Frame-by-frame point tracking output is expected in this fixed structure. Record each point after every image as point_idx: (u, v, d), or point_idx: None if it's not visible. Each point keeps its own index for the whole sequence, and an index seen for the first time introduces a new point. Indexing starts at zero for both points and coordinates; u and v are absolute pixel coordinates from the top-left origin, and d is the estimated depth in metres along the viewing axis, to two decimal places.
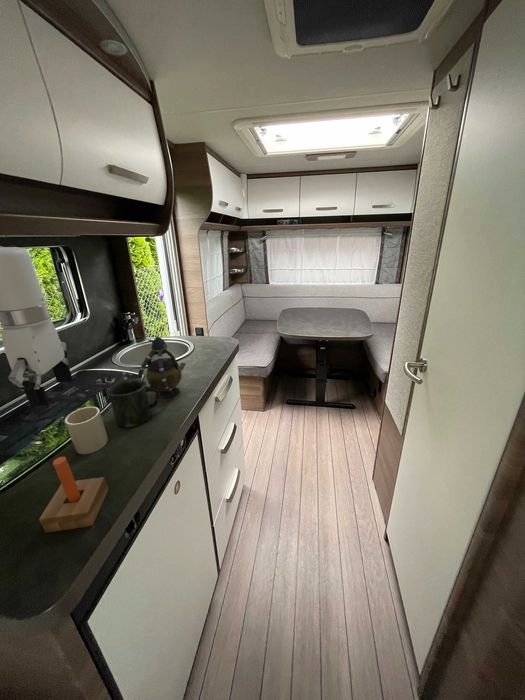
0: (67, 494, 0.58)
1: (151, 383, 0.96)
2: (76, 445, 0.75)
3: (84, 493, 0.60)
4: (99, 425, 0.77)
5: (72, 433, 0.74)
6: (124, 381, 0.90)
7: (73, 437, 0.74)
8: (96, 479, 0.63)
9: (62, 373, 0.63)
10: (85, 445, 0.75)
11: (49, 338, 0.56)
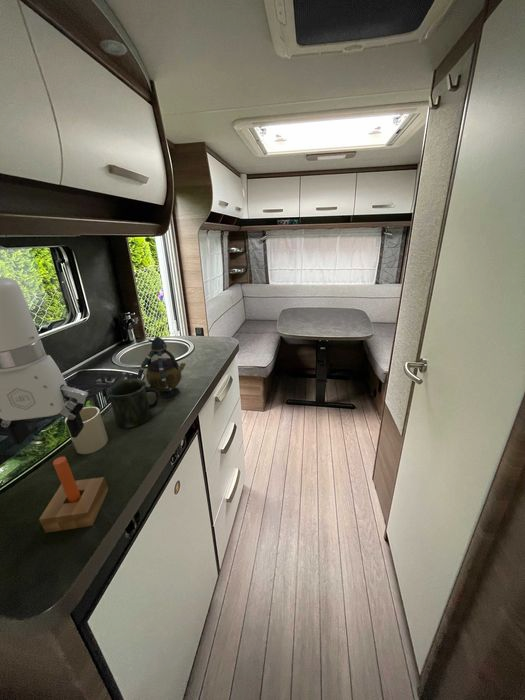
0: (67, 494, 0.58)
1: (151, 383, 0.96)
2: (76, 445, 0.75)
3: (84, 493, 0.60)
4: (99, 425, 0.77)
5: None
6: (124, 381, 0.90)
7: None
8: (96, 479, 0.63)
9: (22, 428, 0.52)
10: (85, 445, 0.75)
11: None
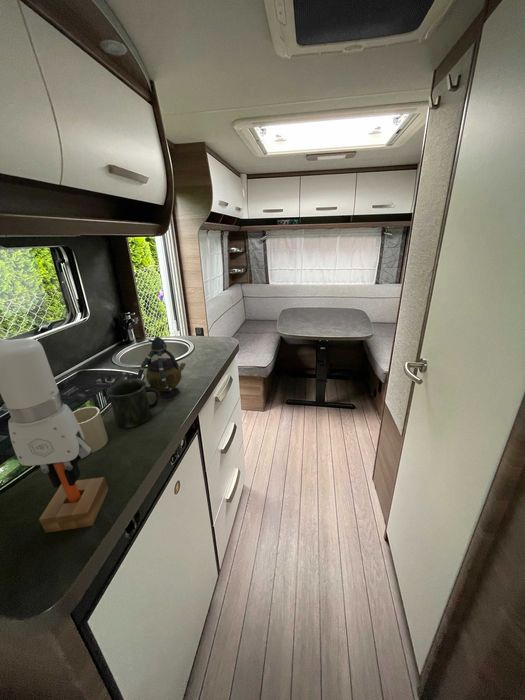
0: (67, 494, 0.58)
1: (151, 383, 0.96)
2: None
3: (84, 493, 0.60)
4: (99, 425, 0.77)
5: None
6: (124, 381, 0.90)
7: None
8: (96, 479, 0.63)
9: None
10: None
11: None
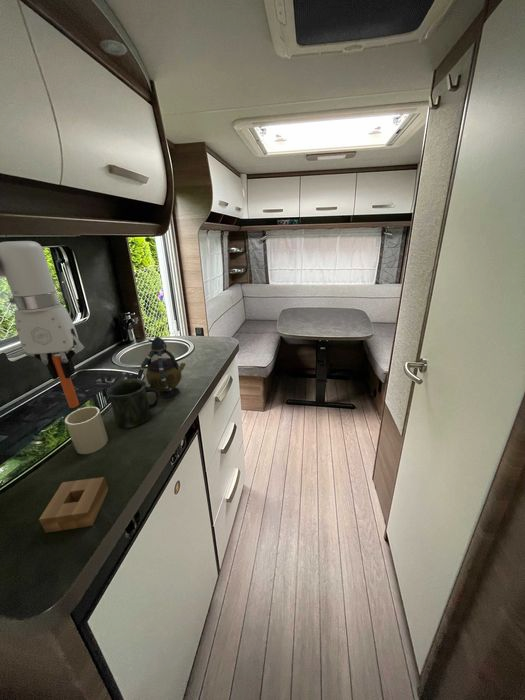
0: (63, 387, 0.68)
1: (151, 383, 0.96)
2: (76, 445, 0.75)
3: (84, 493, 0.60)
4: (99, 425, 0.77)
5: (72, 433, 0.74)
6: (124, 381, 0.90)
7: (73, 437, 0.74)
8: (96, 479, 0.63)
9: None
10: (85, 445, 0.75)
11: None
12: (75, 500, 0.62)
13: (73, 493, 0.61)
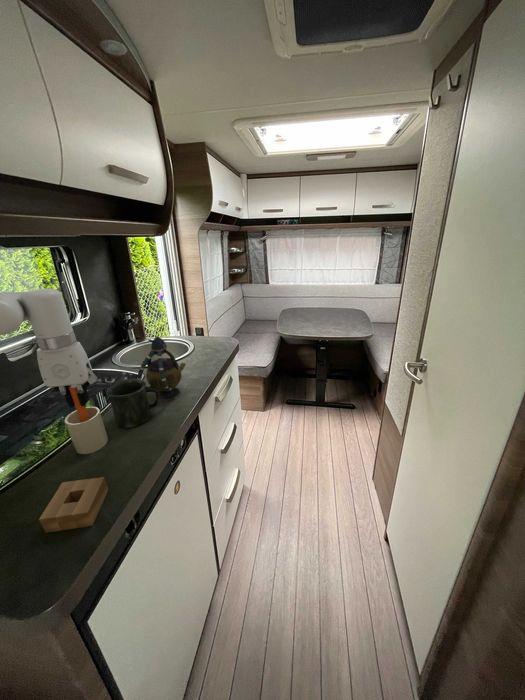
0: (79, 414, 0.75)
1: (151, 383, 0.96)
2: (76, 445, 0.75)
3: (84, 493, 0.60)
4: (99, 425, 0.77)
5: (72, 433, 0.74)
6: (124, 381, 0.90)
7: (73, 437, 0.74)
8: (96, 479, 0.63)
9: None
10: (85, 445, 0.75)
11: None
12: (75, 500, 0.62)
13: (73, 493, 0.61)
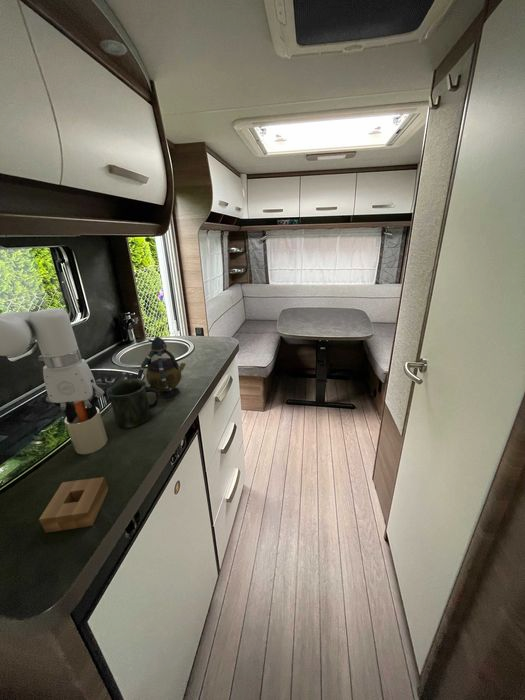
0: None
1: (151, 383, 0.96)
2: (76, 445, 0.75)
3: (84, 493, 0.60)
4: (99, 425, 0.77)
5: (72, 433, 0.74)
6: (124, 381, 0.90)
7: (73, 437, 0.74)
8: (96, 479, 0.63)
9: (73, 411, 0.76)
10: (84, 445, 0.75)
11: None
12: (75, 500, 0.62)
13: (73, 493, 0.61)
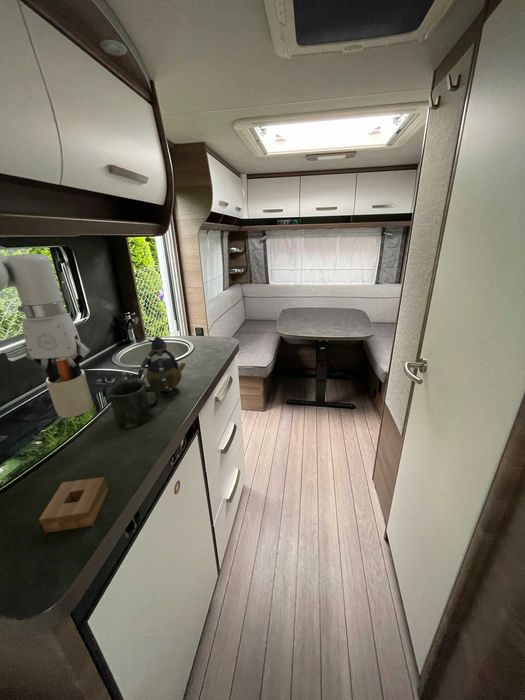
0: None
1: (151, 383, 0.96)
2: (57, 407, 0.70)
3: (84, 493, 0.60)
4: (83, 387, 0.72)
5: (53, 393, 0.69)
6: (124, 381, 0.90)
7: (54, 398, 0.69)
8: (96, 479, 0.63)
9: (55, 371, 0.71)
10: (67, 408, 0.70)
11: None
12: (75, 500, 0.62)
13: (73, 493, 0.61)
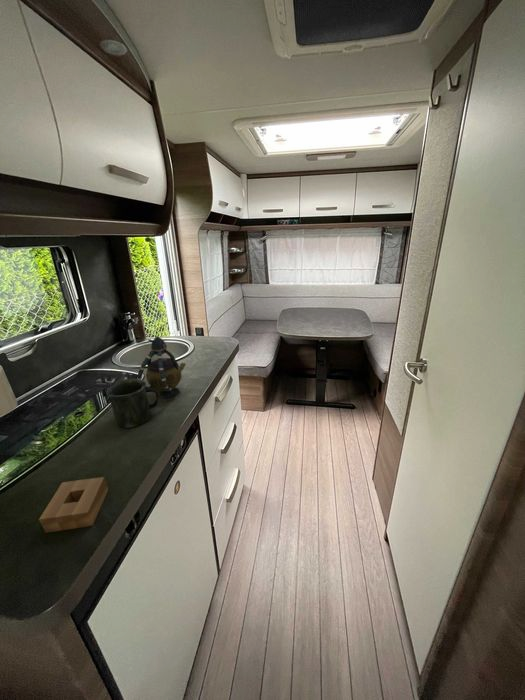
0: None
1: (151, 383, 0.96)
2: None
3: (84, 493, 0.60)
4: None
5: None
6: (124, 381, 0.90)
7: None
8: (96, 479, 0.63)
9: None
10: None
11: None
12: (75, 500, 0.62)
13: (73, 493, 0.61)
